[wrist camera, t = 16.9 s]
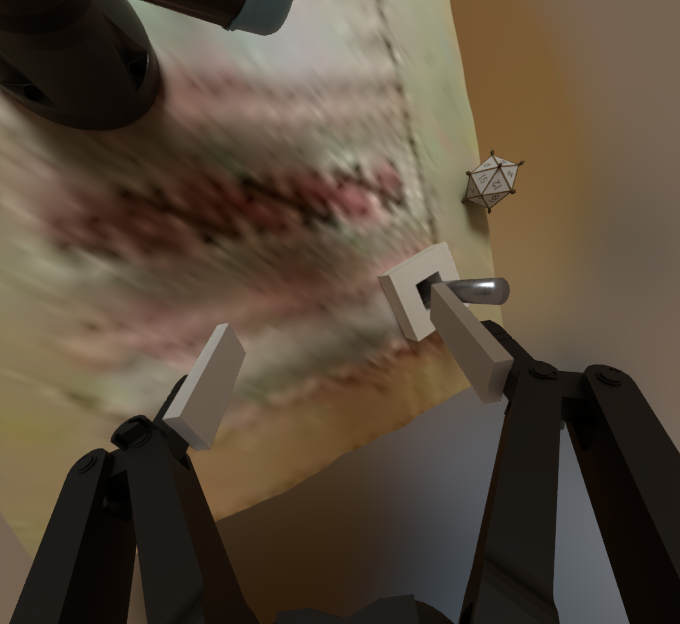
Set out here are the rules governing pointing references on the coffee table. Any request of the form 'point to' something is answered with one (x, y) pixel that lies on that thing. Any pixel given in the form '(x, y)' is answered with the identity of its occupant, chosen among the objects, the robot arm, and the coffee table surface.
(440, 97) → the coffee table surface
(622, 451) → the robot arm
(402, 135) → the coffee table surface
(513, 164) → the game die
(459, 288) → the pin
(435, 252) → the socket block
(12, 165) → the coffee table surface
